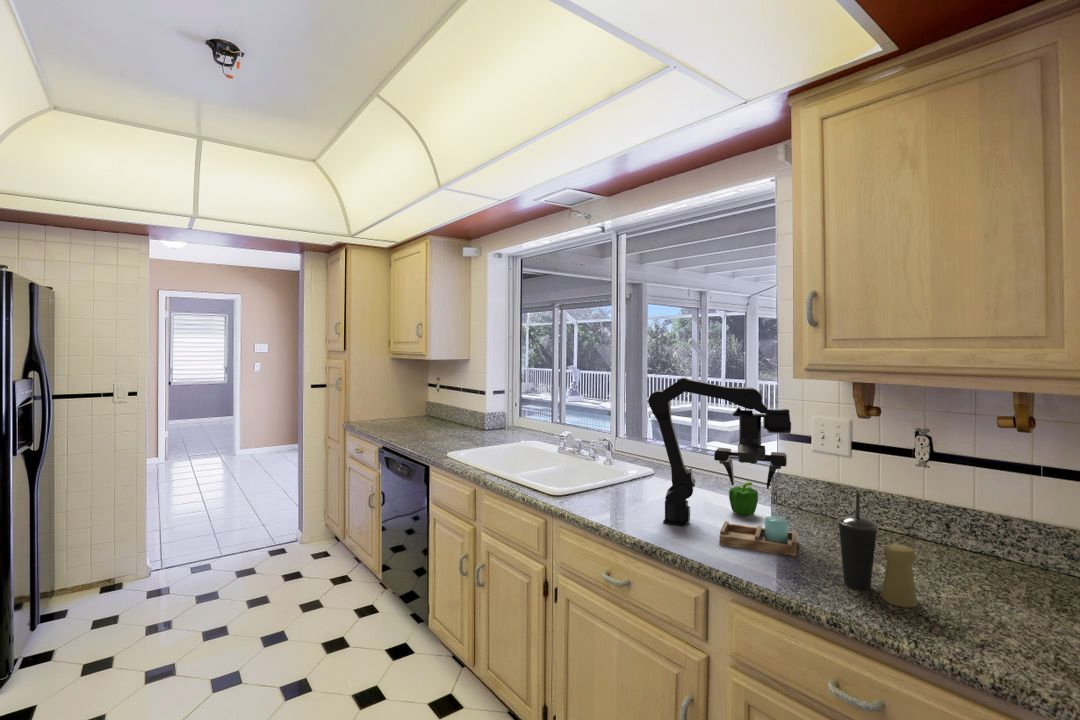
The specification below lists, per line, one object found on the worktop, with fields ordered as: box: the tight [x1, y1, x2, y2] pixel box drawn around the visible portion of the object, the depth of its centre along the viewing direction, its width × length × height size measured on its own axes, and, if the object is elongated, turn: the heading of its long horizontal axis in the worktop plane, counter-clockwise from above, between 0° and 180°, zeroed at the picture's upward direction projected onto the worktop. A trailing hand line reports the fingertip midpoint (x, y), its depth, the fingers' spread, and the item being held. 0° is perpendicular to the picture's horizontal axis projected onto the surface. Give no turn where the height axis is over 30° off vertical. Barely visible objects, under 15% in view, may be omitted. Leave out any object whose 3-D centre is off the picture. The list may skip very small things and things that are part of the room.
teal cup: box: [764, 515, 789, 544], centre depth 134 cm, size 6×6×6 cm
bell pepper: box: [728, 481, 759, 517], centre depth 160 cm, size 8×8×10 cm
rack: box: [719, 520, 798, 557], centre depth 136 cm, size 18×11×3 cm, turn 63°
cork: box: [881, 543, 918, 608], centre depth 105 cm, size 6×6×11 cm
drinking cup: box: [837, 492, 880, 591], centre depth 112 cm, size 8×8×20 cm
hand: (750, 486), depth 147 cm, fingers open, 9 cm apart
